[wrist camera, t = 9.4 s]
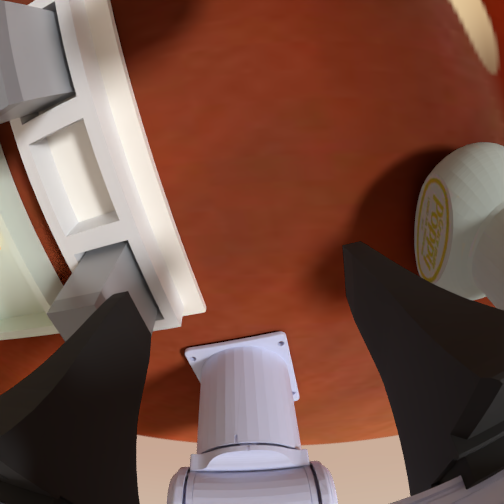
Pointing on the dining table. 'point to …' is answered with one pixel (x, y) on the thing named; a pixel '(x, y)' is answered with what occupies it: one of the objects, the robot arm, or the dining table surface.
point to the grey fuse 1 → (31, 61)
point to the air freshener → (464, 223)
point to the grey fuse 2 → (101, 288)
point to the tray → (22, 268)
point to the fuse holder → (104, 164)
